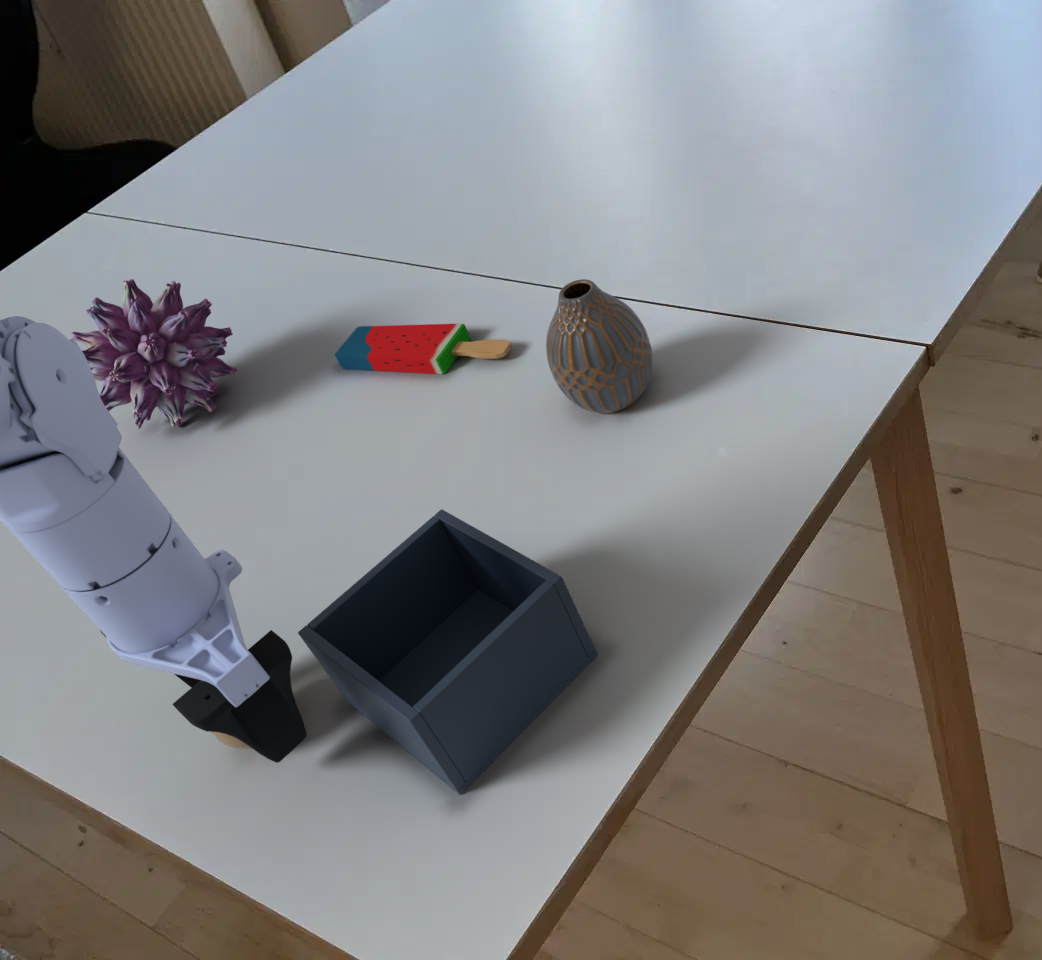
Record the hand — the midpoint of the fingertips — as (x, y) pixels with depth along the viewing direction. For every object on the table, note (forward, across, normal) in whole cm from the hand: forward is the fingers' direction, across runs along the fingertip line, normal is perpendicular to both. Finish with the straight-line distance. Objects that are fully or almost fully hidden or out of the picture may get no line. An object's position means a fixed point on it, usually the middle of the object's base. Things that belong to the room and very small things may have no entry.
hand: (254, 713), depth 61 cm
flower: (+2, +35, -14) cm, 38 cm away
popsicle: (+2, +20, -28) cm, 34 cm away
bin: (+2, -8, -9) cm, 12 cm away
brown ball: (+2, 0, 0) cm, 2 cm away
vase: (+2, +2, -31) cm, 31 cm away
